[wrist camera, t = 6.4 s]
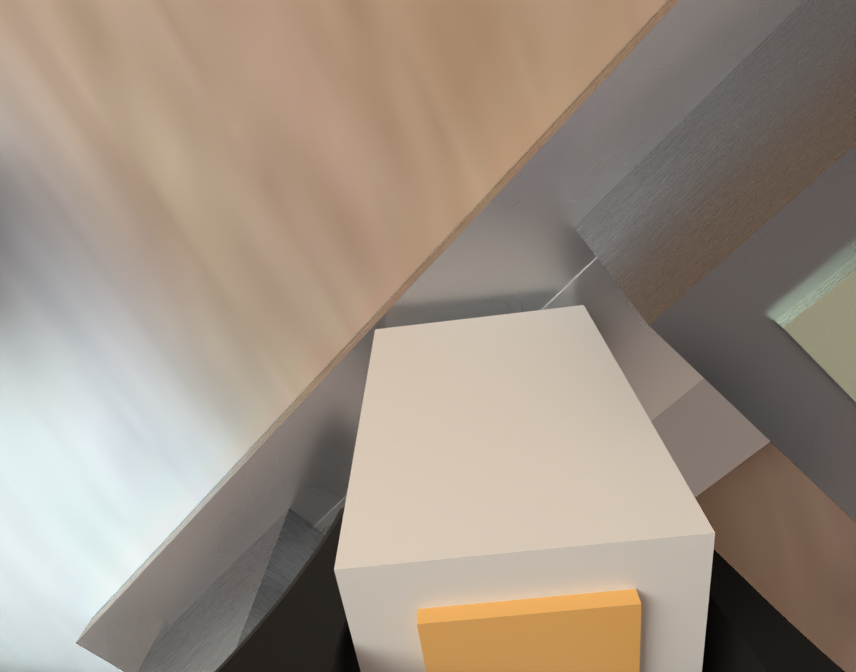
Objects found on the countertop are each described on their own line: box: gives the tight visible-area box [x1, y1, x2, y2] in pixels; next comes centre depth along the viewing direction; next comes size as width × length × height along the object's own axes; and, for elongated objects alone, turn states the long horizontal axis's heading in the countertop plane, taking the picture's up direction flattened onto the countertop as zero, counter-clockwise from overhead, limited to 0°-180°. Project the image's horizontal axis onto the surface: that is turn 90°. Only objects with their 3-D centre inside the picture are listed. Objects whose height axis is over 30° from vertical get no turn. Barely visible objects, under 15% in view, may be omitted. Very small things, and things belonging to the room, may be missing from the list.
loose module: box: [334, 305, 715, 672], centre depth 10 cm, size 4×5×6 cm
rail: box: [76, 0, 856, 672], centre depth 12 cm, size 8×24×6 cm, turn 138°
